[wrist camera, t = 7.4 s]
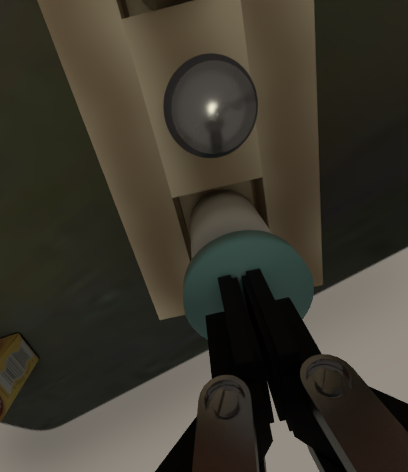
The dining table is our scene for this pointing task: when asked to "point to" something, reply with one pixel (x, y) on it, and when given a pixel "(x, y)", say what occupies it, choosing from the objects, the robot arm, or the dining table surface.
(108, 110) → the wooden holder block
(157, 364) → the dining table surface
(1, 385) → the candy box
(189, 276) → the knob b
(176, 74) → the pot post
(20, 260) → the dining table surface
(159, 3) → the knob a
